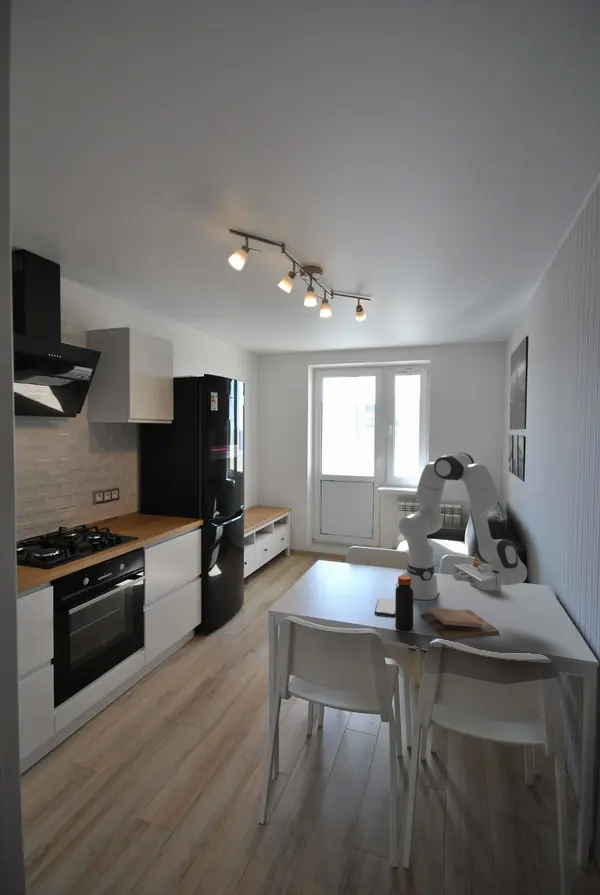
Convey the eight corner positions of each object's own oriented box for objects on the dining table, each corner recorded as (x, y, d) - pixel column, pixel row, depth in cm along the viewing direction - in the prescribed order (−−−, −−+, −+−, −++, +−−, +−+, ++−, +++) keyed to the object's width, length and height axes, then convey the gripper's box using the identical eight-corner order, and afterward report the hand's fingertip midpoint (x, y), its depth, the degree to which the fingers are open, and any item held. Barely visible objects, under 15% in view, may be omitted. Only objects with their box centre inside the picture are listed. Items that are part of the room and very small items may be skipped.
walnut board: (420, 616, 178) (420, 613, 178) (468, 611, 182) (468, 609, 182) (445, 639, 158) (445, 636, 158) (499, 633, 162) (499, 630, 162)
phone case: (378, 601, 195) (374, 615, 179) (378, 598, 195) (374, 611, 179) (397, 604, 192) (395, 618, 177) (397, 600, 192) (395, 614, 177)
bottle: (410, 623, 171) (410, 574, 170) (415, 631, 164) (415, 580, 164) (393, 623, 171) (393, 574, 170) (397, 631, 164) (398, 580, 163)
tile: (463, 615, 176) (428, 611, 173) (464, 610, 176) (429, 607, 173) (481, 628, 164) (443, 624, 161) (482, 623, 164) (444, 619, 161)
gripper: (472, 559, 180) (441, 561, 178) (503, 575, 160) (470, 578, 158) (471, 574, 181) (441, 576, 178) (503, 592, 161) (470, 595, 158)
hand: (455, 577), depth 168 cm, fingers closed
